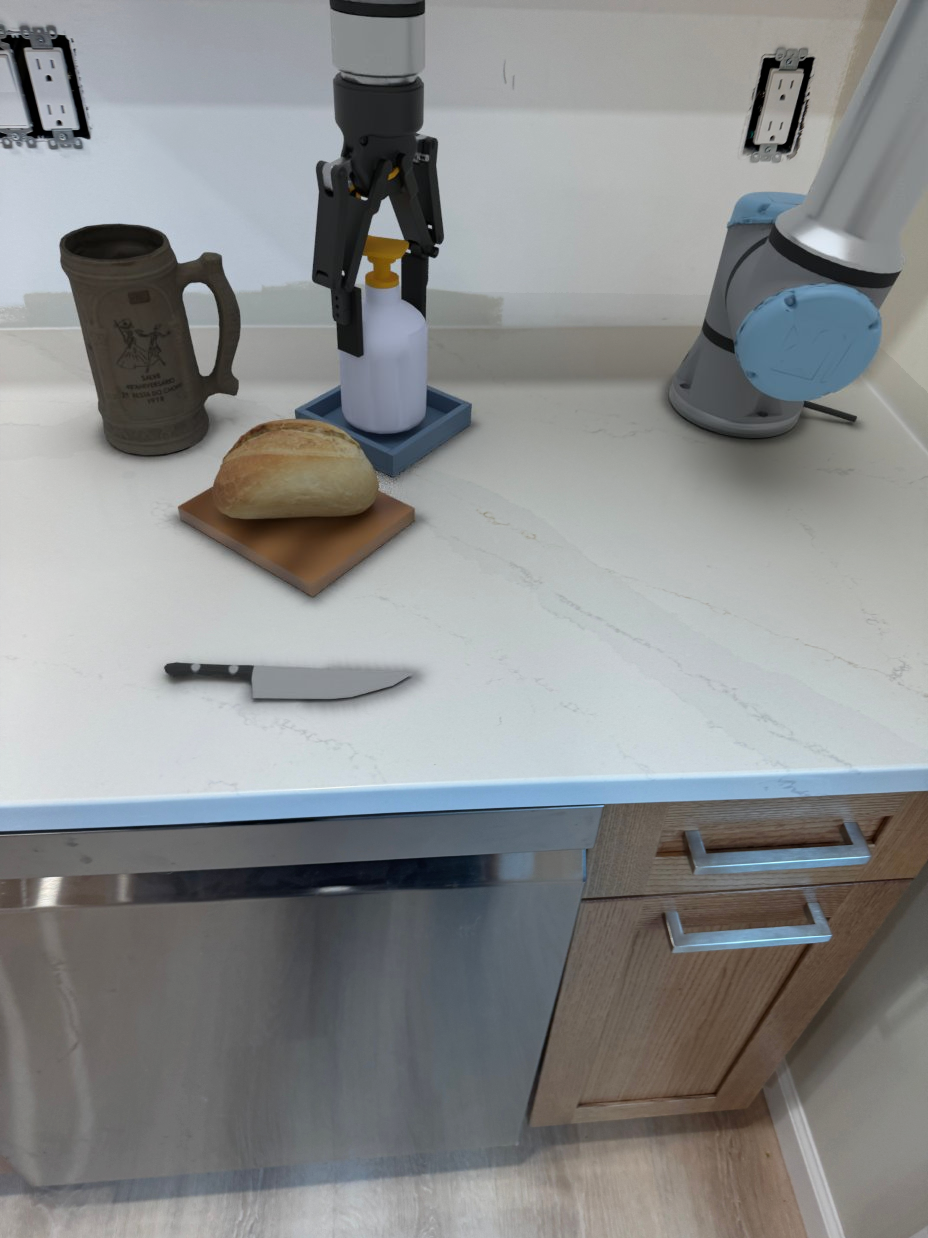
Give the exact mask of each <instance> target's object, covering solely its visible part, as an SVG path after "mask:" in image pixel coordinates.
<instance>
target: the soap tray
mask: <svg viewBox="0 0 928 1238" xmlns="http://www.w3.org/2000/svg"><path fill="white" fill-rule="evenodd" d="M472 407H473V403H472V402H469V401H466V400H465V399H461V398H459V397H457V396H455V395H452V394H449V393H448V392H445V391H442V390H441V389H438V388H435V387H432V386H430V385H428V384H427V391H426V414H425V417H424V419H423V420H422V421H421V422H420V424H419V425H417V426H415V427H413V428H412V429H410V430H407V431H403V432H399V433H390V434H378V433H372V432H366V431H363V430H361V429H358V428H356V427H354V426H353V425H351V424H350V423H349V422H348V421H346V419H345V417H344V414H343V412H342V401H341V384H338V385H337V386H335V387H333V388H332V389H329V390H328V391H326V392H325V393H322V394H321V395H318V396H317V397H315V398H313V399H312V400H309V401H307V402H306V403H304V404H302V405H300V406H299V407H297V408H295V409H294V416H295V417H294V419H308V420H317V421H321V422H326V423H329V424H331V425H334V426H336V427H338V428H340V429H342V430H343V431H345V432H346V433H347V434H348V435H350V436H351V438H352V439H354V440H355V441H356V442H358V443H359V445H360V448H361V449H362V450H363V452H364V454H365V456H366V457H367V459H368V460H369V461H370V463H371V464H372V466H373V469H374V470H377V471H379V472H381V473H383V474H384V475H388V476H389V477H391V478H394V477H396V476H397V475H399V474H400V473H401V472H404V471H405V470H406V469H407V468H410V467H411V466H412V465H413V464H415V463H417V462H418V461H420V460H421V459H422V458H424V457H425V456H426V455H428V454H430V453H431V452H432V451H434V450H435V449H437V448H438V447H439V446H441V445H442V444H444V443H446V442H447V441H449V440H450V439H452V438H453V437H455V436H456V435H457V434H459V433H460V432H461V431H463V430H465V429H467V428H468V427H469V426H470V425H471V423H472V410H473V409H472Z"/></svg>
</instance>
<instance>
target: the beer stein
mask: <svg viewBox="0 0 928 1238" xmlns="http://www.w3.org/2000/svg"><path fill="white" fill-rule="evenodd" d="M58 247H59V254H60V257H59V263H60V268H61V269H62V271H63V273H64V274H65V275H66V276H67V278H68V282H69V285H70V289H71V293H72V298H73V301H74V303H75V309H76V313H77V316H78V320H79V325H80V328H81V333H82V338H83V342H84V343H83V344H84V347H85V351H86V355H87V359H88V363H89V368H90V371H91V375H92V380H93V383H94V388H95V393H96V397H97V410H98V412H99V414H100V416H101V419H102V424H103V432H104V435H105V439H106V440H107V441H108V442H109V444H110V445H112V446H113V447H114V448H116V449H118V450H119V451H122V452H125V453H129V454H134V455H141V456H156V455H157V456H158V455H166V454H172V453H175V452H179V451H183V450H185V449H187V448H190V447H191V446H193V445H195V444H196V443H199V442H200V441H201V440H202V439H203V438H204V437H205V435H206V434H207V432H208V430H209V428H210V419H209V414H208V412H207V410H206V408H205V403H206V401H207V400H208V399H209V398H210V397H212V396H214V395H217V394H218V395H219V394H220V395H221V394H222V395H228V396H232V397H236V396H238V392H239V389H240V383H239V379H238V378H237V377H236V376H234V374H233V371H232V370H233V365H234V364H233V363H234V360H235V356H236V353H237V349H238V346H239V342H240V338H241V328H242V323H241V321H242V320H241V319H242V318H241V310H240V306H239V303H238V299H237V296H236V293H235V291H234V290H233V288H232V285H231V284H230V281H229V280H228V278H227V276H226V273H225V269H224V265H223V256H222V254H220V253H218V252H214V251H213V252H212V251H204V252H203V253H202V254H201V255H200V256H198V258H196V259H194V260H189V261H186V262H178V259H177V255H176V253H175V252H174V250H173V248H172V246H171V243H170V240H169V237H168V236H167V234H165V233H164V232H162V231H161V230H158V229H156V228H153V227H151V226H146V225H141V224H131V223H130V224H128V223H100V224H92V225H85V226H83V227H80V228H77V229H74V230H71V231H69V232H68V233H66V234H63V236H62V237H61V238H60V241H59V244H58ZM197 283H200V284H203V285H205V286H206V287H207V288H208V289H209V290H210V291H211V293H212V294H213V297H214V300H215V305H216V308H217V315H218V341H217V342H218V343H217V348H216V356H215V360H214V365H213V368H212V371H211V372H210V374H209V375H202V374H201V372H200V368H199V364H198V361H197V357H196V353H195V349H194V348H195V347H194V344H193V339H192V336H191V329H190V324H189V320H188V316H187V311H186V307H185V303H184V296H183V295H184V291H185V289H186V288H187V287H188V286H189V285H190V284H197Z"/></svg>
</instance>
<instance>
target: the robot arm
mask: <svg viewBox="0 0 928 1238" xmlns="http://www.w3.org/2000/svg"><path fill="white" fill-rule="evenodd" d="M329 15H330V17H329V18H330V36H331V37H330V39H331V56H332V58H331V59H332V66H334V68H335V69H336V70H337V71H339V72H337V73H336V74H335V76H334V78H333V79H332V89H333V108H334V109H333V111H334V121H335V124H336V125H337V126H338V128H339V129H340V131H341V133H342V137H343V140H342V141H343V142H342V147H341V153H340V157H339V158H337V159H335V160H333V161H331V162H328V161H325V160H319V161H318V162H317V163H316V165H315V174H316V182H317V189H318V197H317V209H316V222H315V232H314V233H315V234H314V245H313V246H314V247H313V257H312V258H313V259H312V269H311V270H312V271H311V272H312V273H311V280H312V282H313V283H314V284H315V285H318V286H320V287H324V288H326V289H329V290H330V297H331V298H330V299H331V316H332V319H333V321H334V322H335V324H336V326H335V327H336V342H337V344H336V345H337V350H338V351H339V350H341V351H344V352H346V353H348V354H351V355H353V356H355V357H358V358H359V357H361V356H363V355H364V350H363V322H362V299H363V298H362V297H363V296H362V295H363V294H362V287H358V286H356V282H357V278H358V274H359V270H360V266H361V264H362V263H361V262H362V259H363V256H362V255H363V252H364V248H365V244H366V240H367V236H368V235H369V232H370V228H371V225H372V220H373V218H374V215H377V214H378V213H379V211H380V209H381V205H382V201H385V199H387V198H388V199H389V201H390V204H391V207H392V210H393V212H394V216H395V218H396V221H397V223H398V227H399V230H400V232H401V234H402V238H403V240H405V241H407V242H408V243H409V248H408V249H407V251H406V252H405V253H404V255H403V256H402V258H400V299H402V300H404V301H406V302H408V303H409V304H411V305H412V306H414V307H415V308H416V309H417V310H418V311H420V312H421V314H422V315H423V317H424V318H425V321H427V288H428V287H427V286H428V283H429V273H430V272H429V270H430V269H429V267H430V265H429V263H430V258H432V259H436V258H438V256H439V253H440V247H438V246H436V245H440V246H441V245H442V244H443V242H444V240H445V231H444V221H443V214H442V203H441V194H440V187H439V176H438V168H437V167H438V166H437V164H438V163H437V162H438V151H439V140H438V138H437V137H433V136H430V135H426V134H422V133H419V131H420V130H421V129H422V128H423V126H424V118H425V112H424V111H425V83H424V81H423V80H422V78H421V77H420V76H419V74H421V73H422V72H423V71H425V68H426V0H329ZM396 167H398V169H399V172H398V173H397V175H396V176H395V177H393V178H392V179H389V180H388V178H389V174H391V172H392V169H394V168H396ZM352 184H353V186H354V188H355V189H354V190H352V191H351V193H350V188H351V186H352ZM927 189H928V0H897V1H896V3H895V4H894V7H893V8H892V11H891V13H890V15H889V18H888V19H887V22H886V23H885V26H884V28H883V30H882V33H881V34H880V37H879V39H878V41H877V43H876V45H875V48H874V50H873V52H872V54H871V56H870V58H869V60H868V63H867V65H866V67H865V69H864V71H863V73H862V75H861V77H860V80H859V82H858V84H857V86H856V88H855V90H854V92H853V95H852V97H851V99H850V101H849V103H848V106H847V108H846V109H845V112H844V114H843V116H842V118H841V120H840V122H839V125H838V127H837V129H836V131H835V133H834V136H833V137H832V139H831V141H830V144H829V146H828V148H827V150H826V153H825V155H824V157H823V158H822V161H821V163H820V165H819V167H818V170H817V172H816V174H815V176H814V178H813V181H812V183H811V184H810V186H809V189H808V190H807V193H806V194H802V193H796V192H795V193H794V192H785V191H784V192H782V191H753V192H750V193H746V194H744V195H743V196H741V197H740V198H739V199H738V200H737V201H736V202H735V204H734V207H733V210H732V213H731V216H730V219H729V221H727V223H726V229H727V230H726V235H725V237H724V242H723V246H722V250H721V254H720V257H719V261H718V264H717V269H716V272H715V276H714V280H713V284H712V288H711V291H710V292H711V293H710V296H709V299H708V303H707V307H706V311H705V315H704V317H703V318H704V319H703V323H702V326H701V330H700V332H699V334H698V336H697V337H696V339H695V341H694V343H693V344H692V346H691V347H690V348H689V350H688V351H687V353H686V354H685V356H684V357H683V359H682V361H681V363H680V365H679V366H678V367H677V369H676V371H675V372H674V374H673V375H672V380H671V383H670V387H669V391H668V398H669V402H670V403H671V406H672V407H673V409H675V411H676V412H678V414H679V415H681V416H682V417H684V418H685V419H686V420H688V421H689V422H691V423H692V424H695V425H697V426H698V427H700V428H703V429H705V430H709V431H711V432H713V433H718V434H722V435H724V436H731V437H736V438H746V439H762V438H763V439H764V438H771V437H776V436H779V435H782V434H784V433H787V432H789V431H790V430H792V429H793V428H794V427H795V426H796V425H797V423H798V421H799V418H800V416H801V414H802V410H803V408H806V409H808V410H812V411H816V412H819V413H822V414H826V415H830V416H832V417H835V418H839V419H842V420H845V421H849V422H851V423H856V421H857V419H858V416H857V415H854V414H851V413H848V412H845V411H842V410H840V409H839V410H838V409H836V408H832V407H830V406H825V405H822V404H818V403H816V402H812V401H814V400H819V399H821V398H822V397H824V396H827V395H830V394H835V393H837V392H840V391H842V390H843V389H845V388H847V387H848V386H849V385H851V384H852V383H854V382H855V381H856V380H857V379H858V378H860V376H862V375H863V374H864V373H865V372H866V371H867V369H868V368H869V367H870V365H871V364H872V363H873V361H874V359H875V357H876V355H877V353H878V352H879V348H880V345H881V340H882V331H883V322H882V316H881V314H880V310H881V307H882V305H883V304H884V302H885V301H886V299H887V297H888V295H889V293H891V292H890V291H891V290H892V289H893V286H894V285H895V283H896V281H897V279H898V278H899V276H900V274H901V273H902V271H903V269H904V267H905V265H906V262H907V261H906V257H905V253H904V249H903V247H902V243H901V236H902V233H903V232H904V230H905V229H906V226H907V225H908V223H909V221H910V219H911V218H912V216H913V214H914V213H915V210H916V208H917V207H918V206H919V204H920V202H921V200H922V198H923V196H924V194H925V192H926V191H927ZM356 193H358V194H359V195H360V196H361V199H359V198H356ZM362 198H364V199H362ZM429 226H431V227H429ZM409 251H410V252H409Z"/></svg>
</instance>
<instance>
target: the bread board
mask: <svg viewBox="0 0 928 1238" xmlns="http://www.w3.org/2000/svg"><path fill="white" fill-rule="evenodd" d="M212 490H213V486H211V487H210V488H208V489H206V490H204V491H202V492H201V493H198V494H197V495H196V496H194V497H192V498H190V499H188V500H187V501H184V502H183V503H181V504H179V505H178V506H177V510H178V515H179V519H180V520H181V521H183V522H184V523H186V524H188V525H189V526H191V527H192V528H194V529H196V530H198V531H199V532H201V533H203V534H204V535H206V536H207V537H210V538H211V539H212V540H214V541H217V542H218V543H220V544H221V545H223V546H225V547H227V548H228V549H230V550H232V551H233V552H235V553H237V554H239V555H240V556H242V557H244V558H245V559H247V560H249V561H250V562H252V563H253V564H256V565H257V566H259V567H261V568H262V569H264V570H266V571H268V572H269V573H271V574H272V575H274V576H276V577H278V578H280V579H281V580H283V581H284V582H286V583H288V584H290V585H292V586H293V587H295V588H296V589H298V590H300V591H301V592H303V593H305V594H307V595H308V596H310V597H311V598H314V597H315V596H316V595H318V594H319V593H321V592H322V591H323V590H324V589H326V588H327V587H329V586H330V585H331V584H333V583H334V582H335V581H337V580H338V579H340V577H342V576H343V575H345V574H346V573H348V572H349V571H350V570H351V569H353V568H355V566H357V565H358V564H359V563H360V562H362V561H363V560H364V559H365V558H367V557H368V556H370V555H371V554H372V553H374V552H375V551H376V550H377V549H379V548H380V547H382V546H383V545H385V543H387V542H389V541H390V540H391V539H392V538H394V537H395V536H397V535H398V534H399V533H401V531H403V530H404V529H406V528H407V527H408V526H410V525H411V524H412V523H414V522H415V521H416V520H415V517H416V516H415V515H416V512H415V511H416V509H415V508H414V506H411V505H409V504H407V503H405V502H403V501H401V500H399V499H397V498H394V497H393V496H390V495H389V494H387V493H385V492H383V491H381V490H379V489H378V495H377V497H376V499H375V501H374V502H373V504H371V506H370V507H369V508H368V509H366V510H365V511H363V512H362V513H359V514H356V515H350V516H338V517H318V516H317V517H316V516H311V517H291V518H274V519H273V518H266V519H239V518H231V517H229V516H228V515H225V514H222V513H221V512H220V511H219V510H218V508H217V506H216V505H215V503H214V500H213V495H212Z"/></svg>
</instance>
